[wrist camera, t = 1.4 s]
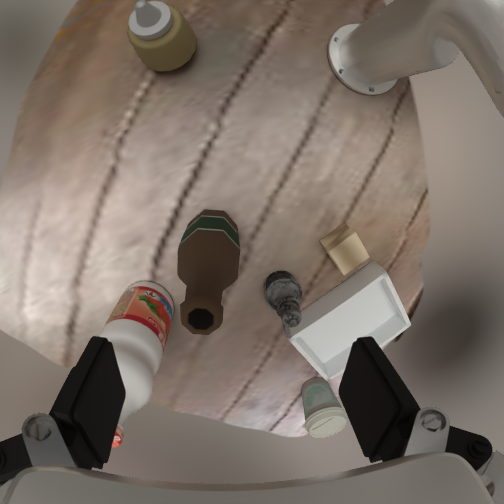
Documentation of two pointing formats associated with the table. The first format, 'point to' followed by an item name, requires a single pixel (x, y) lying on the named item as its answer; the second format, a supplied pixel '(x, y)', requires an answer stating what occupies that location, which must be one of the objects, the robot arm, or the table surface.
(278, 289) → the chess piece
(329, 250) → the beech cube
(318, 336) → the tote
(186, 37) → the squeeze bottle
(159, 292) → the fruit juice
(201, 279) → the beer bottle
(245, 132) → the table surface
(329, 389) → the coffee cup
